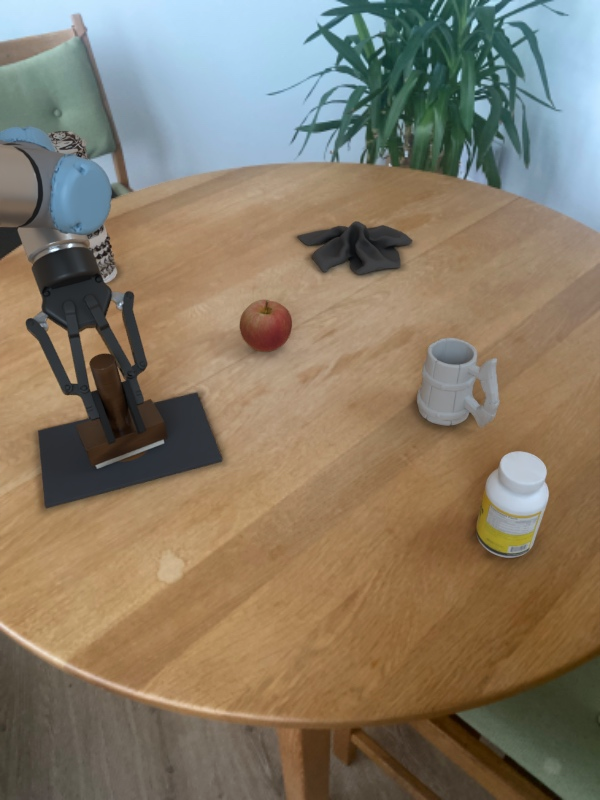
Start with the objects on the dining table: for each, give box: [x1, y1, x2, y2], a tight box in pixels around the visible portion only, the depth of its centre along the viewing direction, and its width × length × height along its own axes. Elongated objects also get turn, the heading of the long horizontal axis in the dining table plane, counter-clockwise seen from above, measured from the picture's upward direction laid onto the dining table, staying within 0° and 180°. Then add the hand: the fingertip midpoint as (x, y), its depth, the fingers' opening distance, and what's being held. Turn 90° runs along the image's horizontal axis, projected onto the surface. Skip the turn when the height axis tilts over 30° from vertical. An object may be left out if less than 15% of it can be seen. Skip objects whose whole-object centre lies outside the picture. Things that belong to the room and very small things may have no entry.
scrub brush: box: [76, 353, 168, 469], centre depth 83 cm, size 10×5×14 cm, turn 119°
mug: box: [416, 337, 501, 429], centre depth 88 cm, size 8×12×12 cm, turn 41°
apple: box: [239, 299, 293, 353], centre depth 103 cm, size 8×8×8 cm
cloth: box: [296, 220, 413, 275], centre depth 126 cm, size 22×19×6 cm
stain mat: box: [37, 392, 223, 509], centre depth 89 cm, size 22×14×1 cm, turn 110°
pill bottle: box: [475, 450, 550, 559], centre depth 73 cm, size 6×6×12 cm
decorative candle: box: [46, 130, 118, 284], centre depth 115 cm, size 9×9×25 cm
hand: (127, 437), depth 82 cm, fingers closed on scrub brush, 3 cm apart
